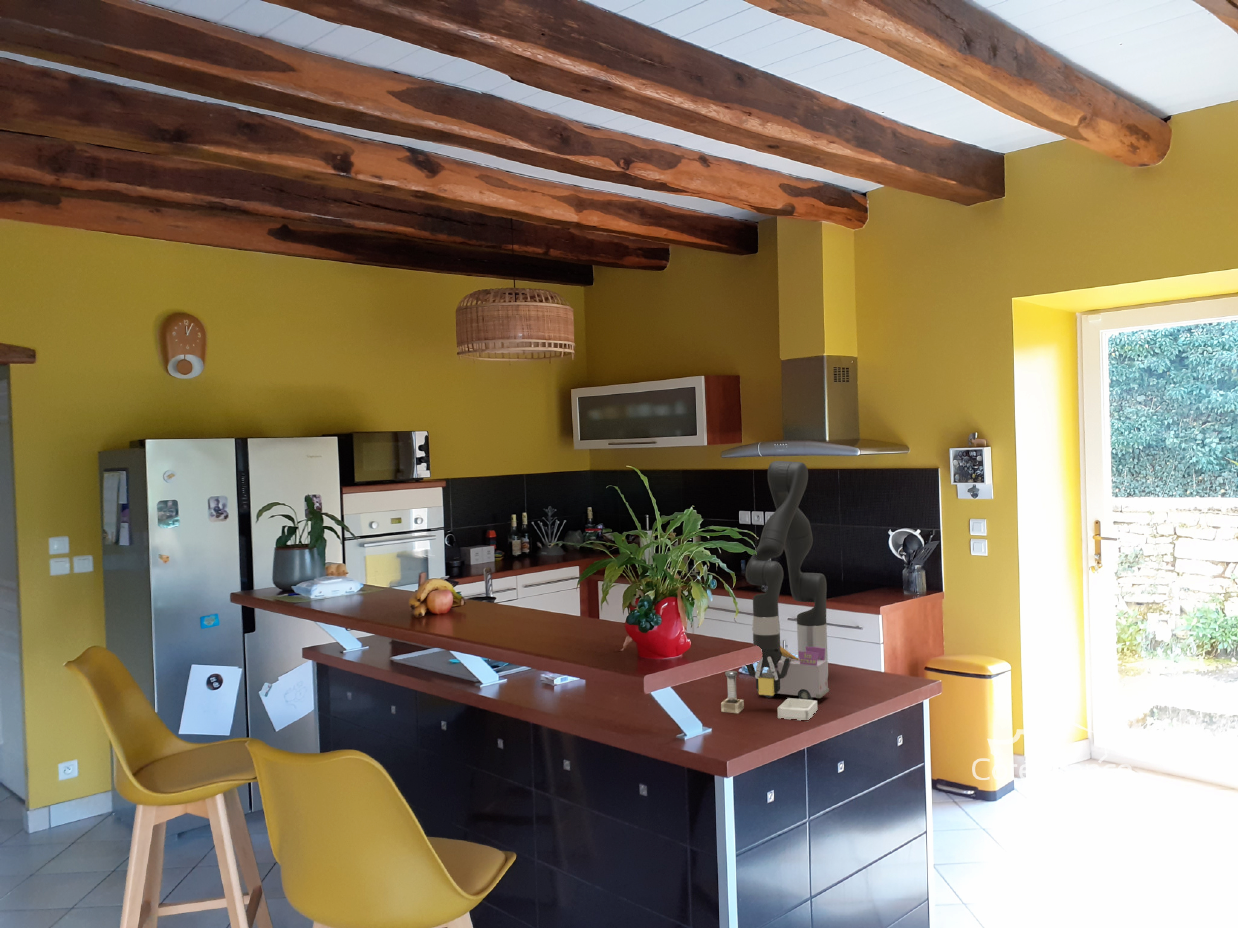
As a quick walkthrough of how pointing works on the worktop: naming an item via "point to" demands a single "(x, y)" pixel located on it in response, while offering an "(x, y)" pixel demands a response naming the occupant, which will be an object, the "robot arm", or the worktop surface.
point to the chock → (766, 684)
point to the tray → (797, 709)
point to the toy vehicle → (804, 674)
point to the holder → (732, 706)
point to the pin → (731, 686)
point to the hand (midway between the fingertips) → (768, 691)
